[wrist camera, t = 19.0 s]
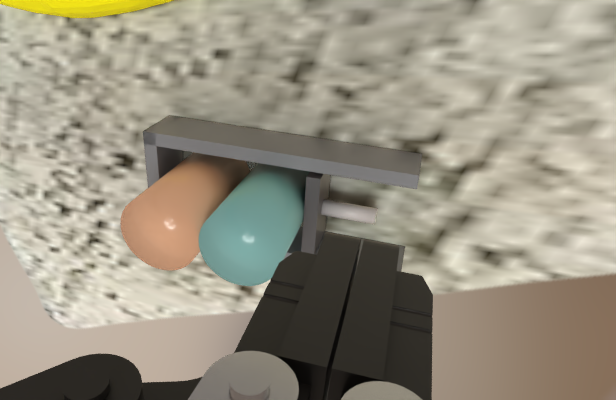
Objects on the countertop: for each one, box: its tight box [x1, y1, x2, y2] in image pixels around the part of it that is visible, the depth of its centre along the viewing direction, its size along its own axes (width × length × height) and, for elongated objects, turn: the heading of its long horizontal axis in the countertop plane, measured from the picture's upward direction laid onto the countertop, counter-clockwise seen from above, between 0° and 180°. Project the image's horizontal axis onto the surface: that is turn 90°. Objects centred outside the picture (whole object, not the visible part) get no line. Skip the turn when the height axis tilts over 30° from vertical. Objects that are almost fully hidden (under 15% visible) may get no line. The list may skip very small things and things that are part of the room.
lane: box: [143, 115, 422, 272], centre depth 38 cm, size 20×9×4 cm, turn 86°
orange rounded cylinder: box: [121, 152, 250, 270], centre depth 37 cm, size 6×6×10 cm
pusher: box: [301, 172, 378, 254], centre depth 37 cm, size 5×6×4 cm
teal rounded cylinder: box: [199, 163, 310, 286], centre depth 36 cm, size 6×6×10 cm
